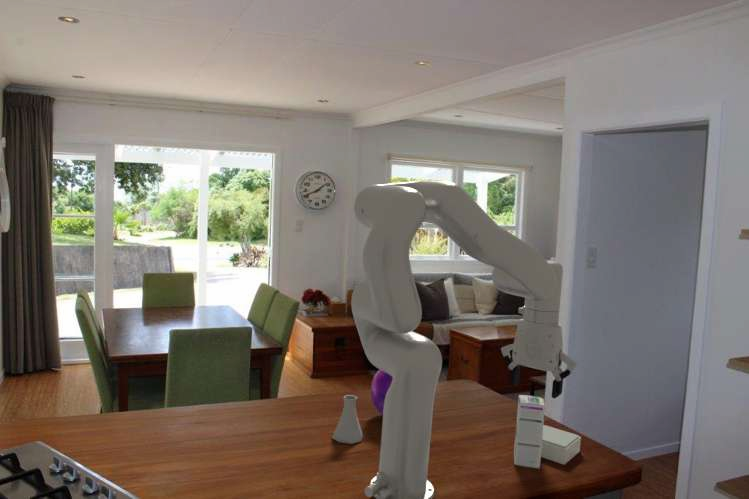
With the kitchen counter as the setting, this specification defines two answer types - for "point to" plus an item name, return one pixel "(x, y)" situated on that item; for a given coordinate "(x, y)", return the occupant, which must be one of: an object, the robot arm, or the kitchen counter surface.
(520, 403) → the syrup box
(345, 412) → the flask
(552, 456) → the block
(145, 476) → the kitchen counter surface
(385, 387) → the decorative orb
